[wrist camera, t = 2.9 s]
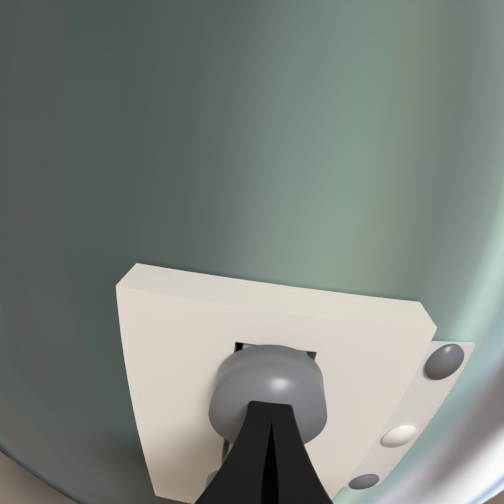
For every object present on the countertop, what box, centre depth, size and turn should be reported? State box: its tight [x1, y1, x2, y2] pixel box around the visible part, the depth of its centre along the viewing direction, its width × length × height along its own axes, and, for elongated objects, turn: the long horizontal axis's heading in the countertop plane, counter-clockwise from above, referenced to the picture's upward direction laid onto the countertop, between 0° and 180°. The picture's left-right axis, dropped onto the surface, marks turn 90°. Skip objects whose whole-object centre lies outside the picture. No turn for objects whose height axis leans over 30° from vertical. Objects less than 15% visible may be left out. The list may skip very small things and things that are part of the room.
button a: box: [208, 343, 327, 444], centre depth 12 cm, size 4×4×4 cm
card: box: [342, 341, 475, 489], centre depth 16 cm, size 3×14×1 cm, turn 173°
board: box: [116, 263, 437, 504], centre depth 15 cm, size 12×18×2 cm, turn 173°
